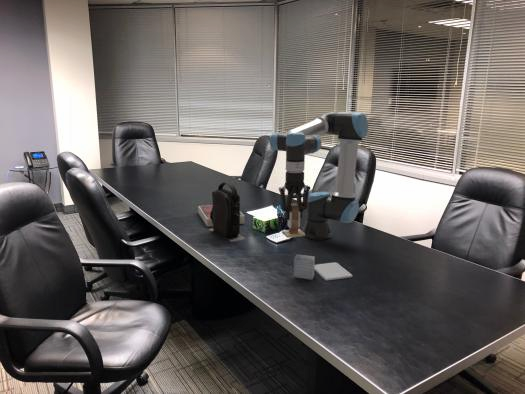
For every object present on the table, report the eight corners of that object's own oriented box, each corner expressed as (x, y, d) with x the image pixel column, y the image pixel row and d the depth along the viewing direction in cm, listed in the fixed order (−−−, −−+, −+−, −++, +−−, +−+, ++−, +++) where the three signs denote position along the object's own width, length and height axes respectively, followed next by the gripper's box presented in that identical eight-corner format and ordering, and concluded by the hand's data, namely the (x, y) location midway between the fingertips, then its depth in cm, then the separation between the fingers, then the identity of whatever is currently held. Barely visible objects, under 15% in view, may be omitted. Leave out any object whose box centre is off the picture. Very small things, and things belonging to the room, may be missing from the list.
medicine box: (314, 275, 170) (315, 256, 168) (312, 280, 166) (313, 260, 164) (295, 273, 173) (296, 253, 170) (293, 277, 168) (294, 257, 166)
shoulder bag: (246, 238, 213) (246, 185, 206) (231, 241, 208) (231, 187, 201) (223, 227, 231) (222, 177, 224) (208, 230, 225) (207, 179, 218)
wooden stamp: (282, 233, 175) (282, 203, 172) (299, 231, 178) (300, 202, 175) (287, 237, 170) (287, 207, 167) (305, 235, 172) (306, 205, 169)
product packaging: (232, 211, 263) (232, 203, 262) (244, 224, 237) (244, 215, 236) (198, 213, 256) (198, 206, 255) (207, 227, 231) (207, 219, 229)
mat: (311, 267, 179) (311, 265, 179) (336, 263, 183) (336, 262, 182) (325, 280, 166) (326, 278, 166) (352, 277, 170) (352, 275, 169)
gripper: (279, 174, 161) (278, 231, 167) (317, 171, 166) (315, 227, 172) (273, 170, 168) (272, 225, 174) (309, 168, 173) (307, 221, 179)
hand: (293, 226), depth 173 cm, fingers closed on wooden stamp, 3 cm apart
